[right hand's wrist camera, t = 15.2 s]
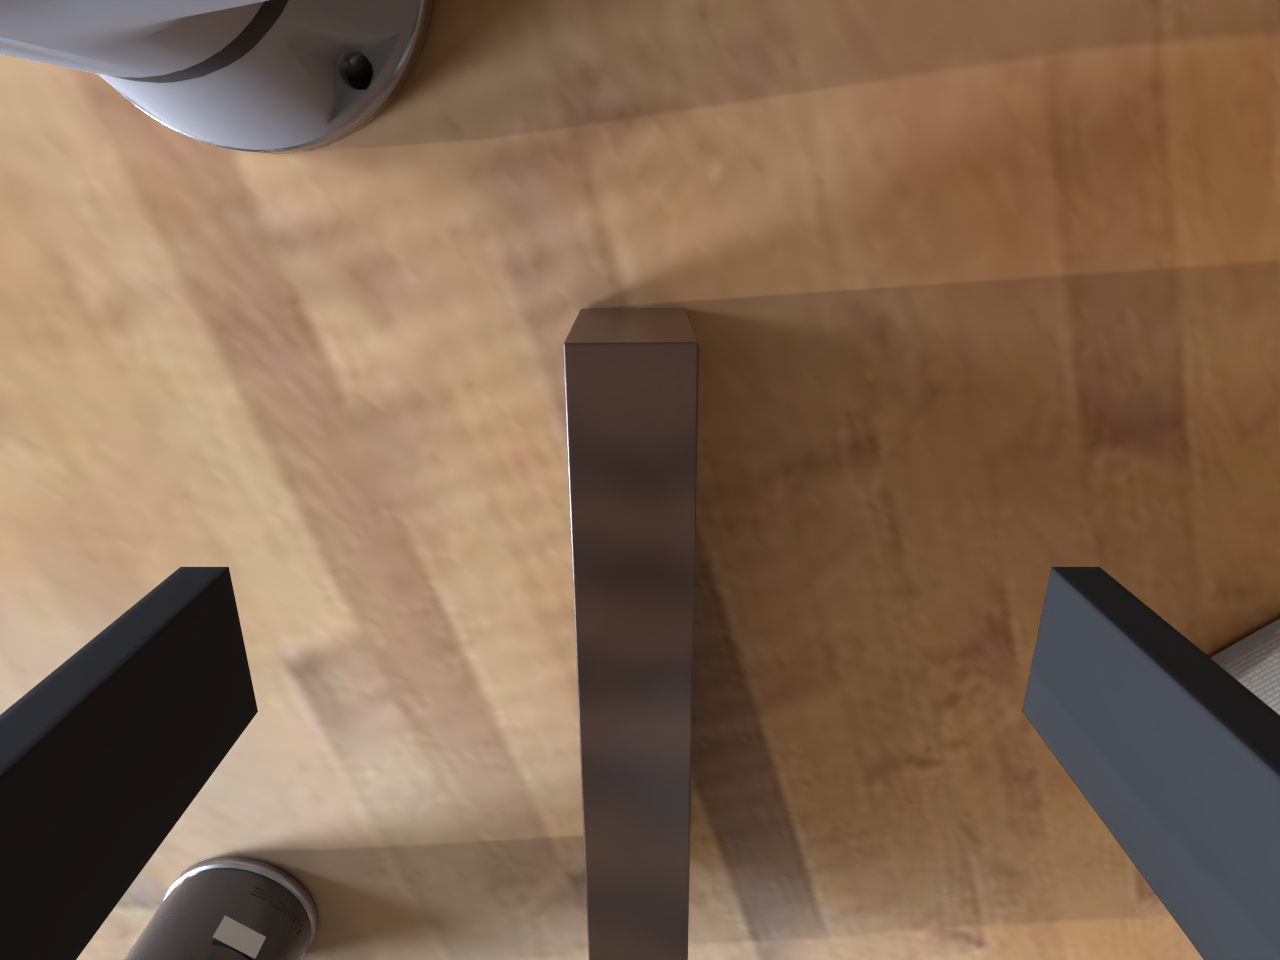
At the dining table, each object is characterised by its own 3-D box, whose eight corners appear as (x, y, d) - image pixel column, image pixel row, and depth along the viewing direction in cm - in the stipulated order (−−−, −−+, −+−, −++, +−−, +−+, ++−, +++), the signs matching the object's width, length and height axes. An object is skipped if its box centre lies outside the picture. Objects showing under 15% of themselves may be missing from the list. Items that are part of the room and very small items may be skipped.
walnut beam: (679, 834, 48) (687, 971, 40) (597, 835, 48) (589, 971, 40) (685, 307, 37) (698, 342, 29) (580, 308, 37) (562, 343, 29)
